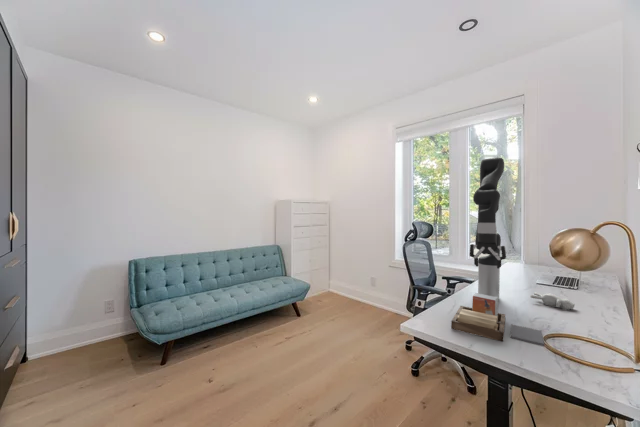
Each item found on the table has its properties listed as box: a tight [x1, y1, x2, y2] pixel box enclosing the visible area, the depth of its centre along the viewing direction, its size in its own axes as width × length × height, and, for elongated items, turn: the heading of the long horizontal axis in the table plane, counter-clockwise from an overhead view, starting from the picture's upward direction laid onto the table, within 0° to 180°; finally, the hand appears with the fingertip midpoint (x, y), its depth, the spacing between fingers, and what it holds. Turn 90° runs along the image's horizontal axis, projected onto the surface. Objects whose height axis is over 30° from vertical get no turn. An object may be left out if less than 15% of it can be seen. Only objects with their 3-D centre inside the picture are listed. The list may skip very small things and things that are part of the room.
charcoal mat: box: [510, 323, 545, 346], centre depth 95 cm, size 12×9×1 cm
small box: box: [471, 292, 499, 322], centre depth 106 cm, size 8×6×10 cm
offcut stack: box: [457, 309, 498, 330], centre depth 99 cm, size 6×12×6 cm, turn 52°
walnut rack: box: [450, 305, 506, 342], centre depth 103 cm, size 20×16×3 cm
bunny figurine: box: [530, 292, 576, 311], centre depth 125 cm, size 10×5×15 cm
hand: (487, 267), depth 124 cm, fingers open, 8 cm apart
